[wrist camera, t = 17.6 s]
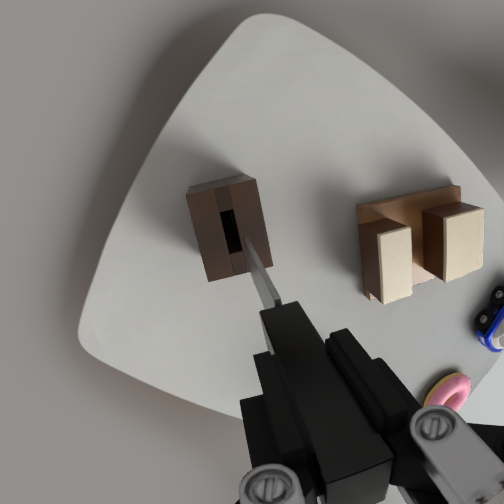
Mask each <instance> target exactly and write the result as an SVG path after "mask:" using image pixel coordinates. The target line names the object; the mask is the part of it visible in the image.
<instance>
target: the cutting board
mask: <svg viewBox="0 0 504 504" xmlns="http://www.w3.org/2000/svg"><path fill="white" fill-rule="evenodd" d="M455 202H461V189H460V186H456V185H451V186H446V187H441V188H436V189H431V190H426V191H421V192H416V193H412V194H407V195H402V196H398V197H393V198H388V199H384V200H379V201H374V202H370V203H365V204H361V205H357V212H358V221H359V225H360V224H364V223H368V222H372V221H376V220H380V219H384V218H389V219H392V220H394V221H397V222H399V223H401V224H404V225H406V226H408V227H411V243H412V286H414V285H417V284H420V283H423V282H425V281H428V280H431V279H433V278H436V276H434V275H433V274H431V273H429V272H428V271H426V270H424V269H423V226H422V210H426V209H430V208H434V207H438V206H442V205H447V204H451V203H455ZM365 296H366V297H367V298H368V299H369V300H373V299H376V298H375V297H374V296H373V295H372V294H371V293H370V292H368V291H367V290H366V289H365Z"/></svg>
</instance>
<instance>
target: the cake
mask: <svg viewBox="0 0 504 504" xmlns="http://www.w3.org/2000/svg"><path fill="white" fill-rule="evenodd" d="M422 226H423V269H424V270H426V271H428V272H429V273H431V274H433V275H434V276H436V277H438V278H439V279H441V280H443V281H444V282H445V283H446V282H449V281H451V280H454V279H456V278H458V277H461V276H463V275H466V274H468V273H470V272H473V271H475V270H478V269H480V268H482V260H483V239H484V208H480V207H477V206H473V205H470V204H466V203H463V202H455V203H451V204H447V205H442V206H438V207H434V208H430V209H426V210H422Z"/></svg>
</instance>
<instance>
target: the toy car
mask: <svg viewBox="0 0 504 504" xmlns="http://www.w3.org/2000/svg"><path fill="white" fill-rule="evenodd" d="M491 299H492V301H493V303H494V304H495V305H496V307H498V310H497V312H496V313H495V315H494V316H493V314H492V313H491V312H490V311H489V310H484V311H481V312H480V313H479V314H478V315H477V318H476V326H477V327H478V328H479V329H480V330H481V331H482V332H483V333H482V332H480V331H477V333H476V334H477V337H478V340H479V341H480V342H481V344H482V345H484V346H485V347H487V349H488V350H490V351H491V352H497V353H499V352H501V350H502V349H503V348H504V286H498V287H496V288H495V289H494V290H493V292H492V295H491Z"/></svg>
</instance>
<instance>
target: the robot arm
mask: <svg viewBox="0 0 504 504" xmlns="http://www.w3.org/2000/svg"><path fill="white" fill-rule="evenodd" d="M325 346H326V347H327V349H328V351H329V352H330V354H331V355H332V357H333V359H334V360H335V362H336V363H337V365H338V367H339V368H340V370H341V371H342V373H343V375H344V376H345V378H346V379H347V381H348V383H349V384H350V386H351V387H352V389H353V391H354V392H355V394H356V395H357V397H358V399H359V400H360V402H361V404H362V405H363V407H364V408H365V410H366V412H367V413H368V415H369V416H370V418H371V420H372V421H373V423H374V425H375V426H376V428H377V429H378V430H379V431H380V432H381V434H382V436H383V437H384V439H385V440H386V442H387V444H388V445H389V447H390V449H391V450H392V452H393V453H394V455H395V460H394V464H393V469H392V473H391V478H390V482H389V484H391V485H395V486H397V487H398V490H399V492H400V493H401V495H402V497H403V498H404V500H405V502H406V503H407V504H504V426H496V425H483V424H472V423H466V422H465V421H464V420H463V419H462V418H461V417H460V415H459V414H458V413H457V412H456V411H454V410H453V409H452V408H450V407H448V406H445V405H438V404H435V405H429V406H426V407H423V408H422V407H421V405H420V404H419V403H418V402H417V400H416V399H415V398H414V397H413V395H412V394H411V393H410V392H409V391H408V389H407V388H406V387H405V386H404V384H403V383H402V382H401V381H400V380H399V378H398V377H397V376H396V375H395V373H394V372H393V371H392V370H391V369H390V367H389V366H388V365H387V364H386V363H385V361H384V360H383V359H382V358H376V359H373V360H372V359H371V357H370V356H369V355H368V354H367V352H366V351H365V350H364V349H363V347H362V346H361V345H360V344H359V342H358V341H357V340H356V339H355V337H354V336H353V335H352V333H351V332H350V331H349V330H348V329H347V328H345V329H342V330H339V331H336V332H332V333H330V338H328V339H326V340H325ZM253 357H254V361H255V365H256V368H257V372H258V376H259V380H260V383H261V387H262V391H263V394H262V395H258V396H254V397H250V398H246V399H242V400H240V407H241V412H242V418H243V423H244V428H245V433H246V439H247V444H248V449H249V454H250V459H251V464H252V470H251V471H249V472H248V473H247V474H246V475H245V476H244V477H243V478H242V480H241V482H240V484H239V497H240V499H239V500H238V501H237V502H236V503H235V504H318V503H317V497H318V496H319V495H318V488H317V481H316V474H315V468H314V461H313V453H314V449H313V445H312V441H311V438H310V435H309V433H308V430H307V428H306V425H305V422H304V420H303V417H302V415H301V412H300V410H299V407H298V405H297V402H296V400H295V397H294V394H293V392H292V389H291V387H290V384H289V382H288V379H287V377H286V374H285V371H284V369H283V366H282V364H281V361H280V359H279V356H278V354H273V355H271V353H270V351H267V352H263V353H259V354H255V355H253Z"/></svg>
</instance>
